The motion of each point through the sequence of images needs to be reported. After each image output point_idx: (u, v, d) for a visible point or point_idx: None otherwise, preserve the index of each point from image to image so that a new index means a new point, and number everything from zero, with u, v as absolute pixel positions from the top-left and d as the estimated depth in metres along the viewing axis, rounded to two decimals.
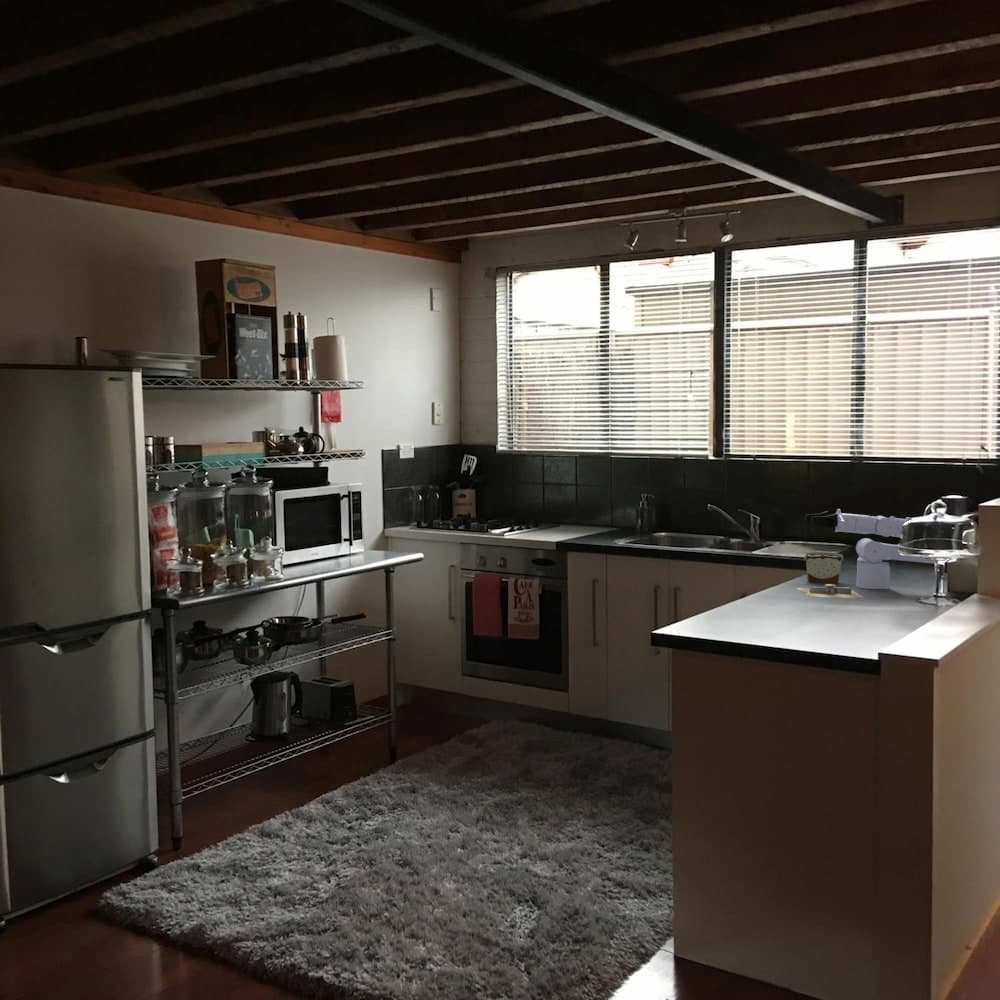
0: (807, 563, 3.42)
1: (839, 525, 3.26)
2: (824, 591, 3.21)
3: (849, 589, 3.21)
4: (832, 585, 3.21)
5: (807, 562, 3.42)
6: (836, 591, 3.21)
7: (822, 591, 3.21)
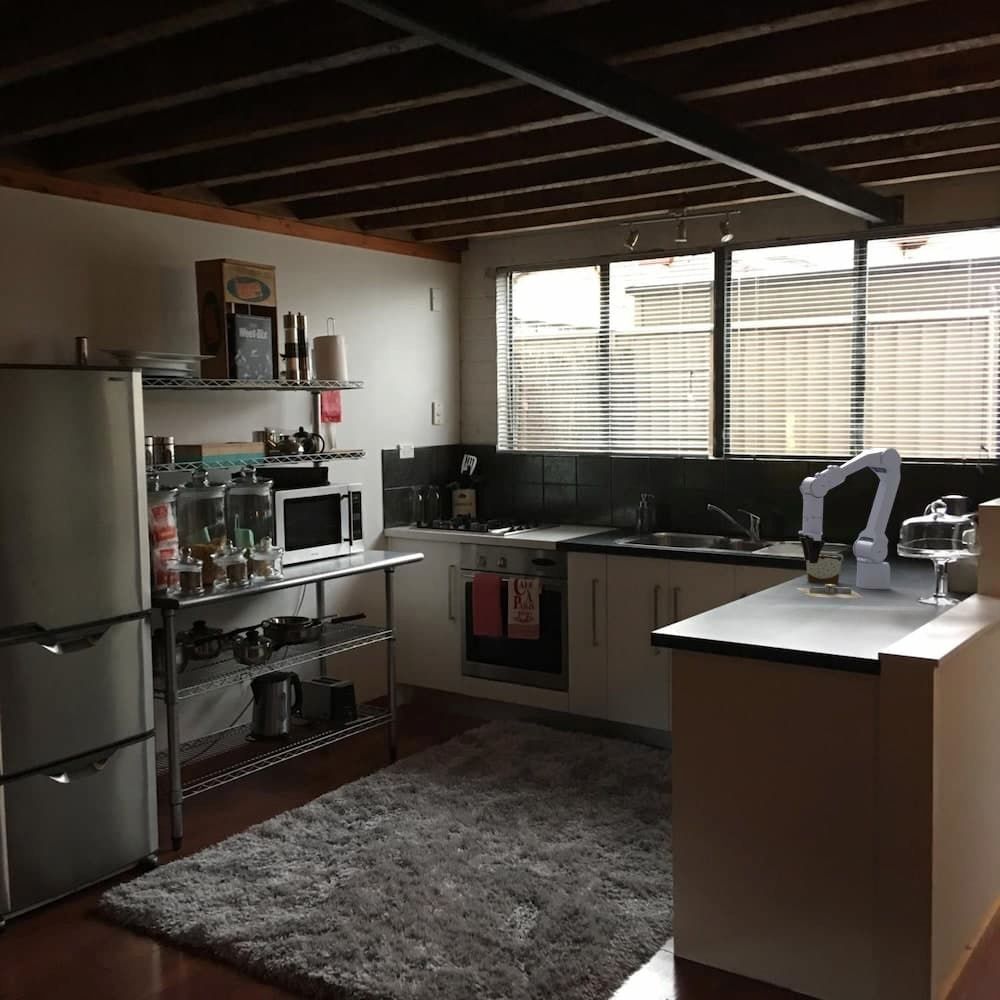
0: (807, 563, 3.42)
1: (819, 539, 3.20)
2: (824, 591, 3.21)
3: (849, 589, 3.21)
4: (832, 585, 3.21)
5: (807, 562, 3.42)
6: (836, 591, 3.21)
7: (822, 591, 3.21)
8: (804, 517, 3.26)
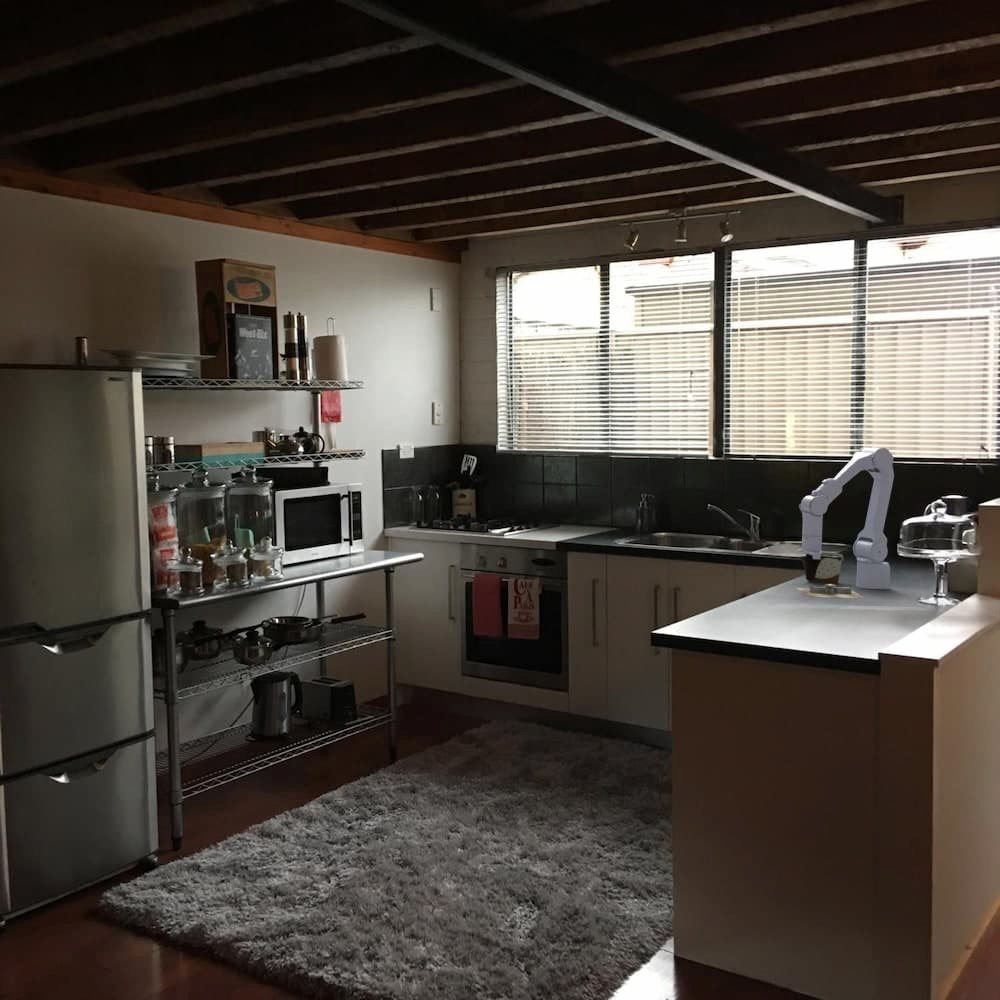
0: None
1: (818, 558, 3.20)
2: (824, 591, 3.21)
3: (849, 589, 3.21)
4: (832, 585, 3.21)
5: None
6: (836, 591, 3.21)
7: (822, 591, 3.21)
8: (803, 535, 3.26)
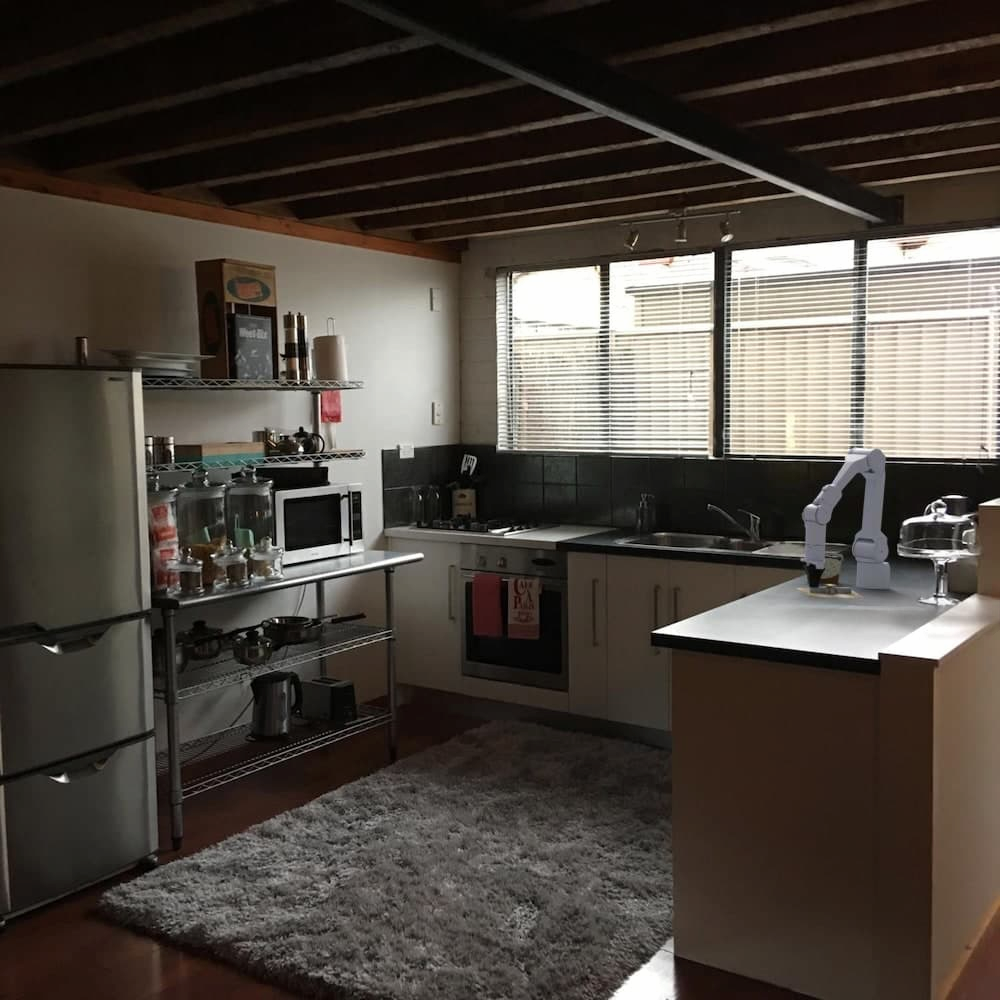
0: (807, 563, 3.42)
1: (821, 567, 3.16)
2: (824, 591, 3.21)
3: (849, 589, 3.21)
4: (832, 585, 3.21)
5: None
6: (836, 591, 3.21)
7: (822, 591, 3.21)
8: (806, 544, 3.22)
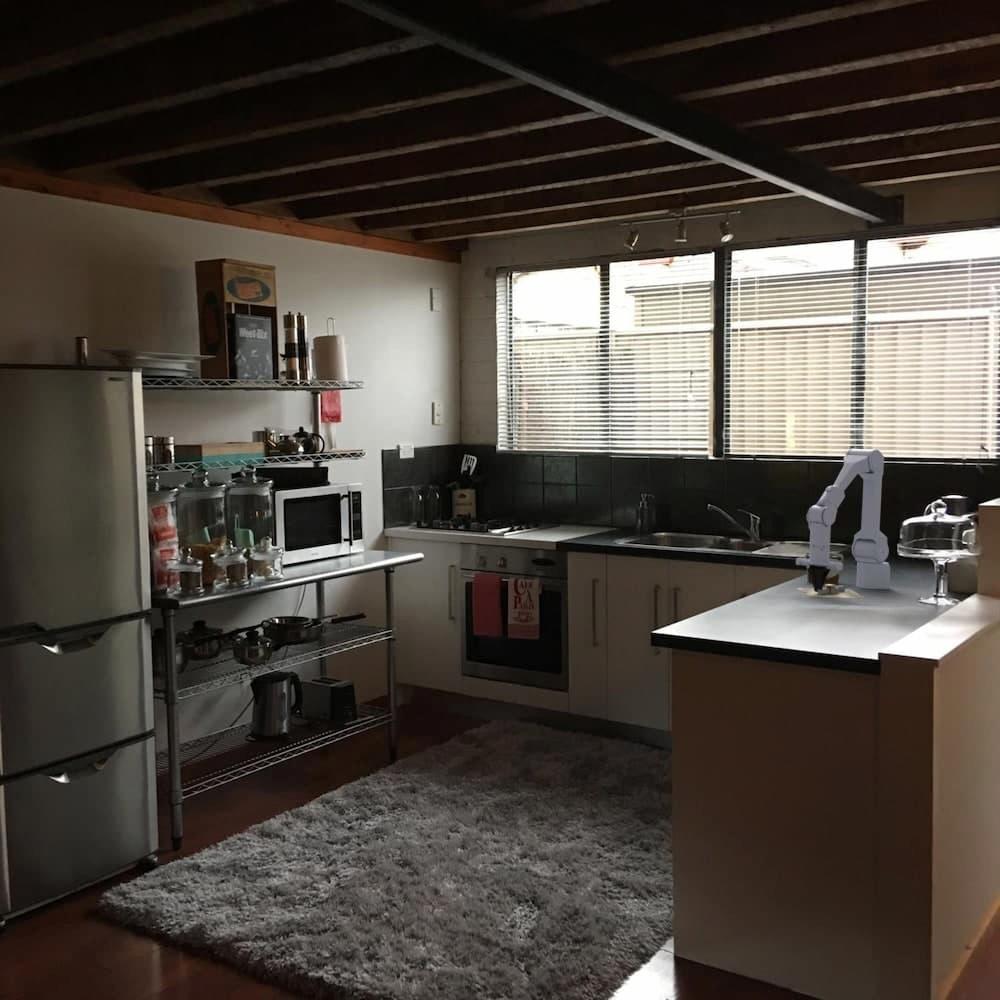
0: None
1: (841, 568, 3.15)
2: (830, 592, 3.20)
3: (844, 587, 3.25)
4: (832, 585, 3.21)
5: None
6: None
7: (829, 592, 3.20)
8: (817, 547, 3.17)
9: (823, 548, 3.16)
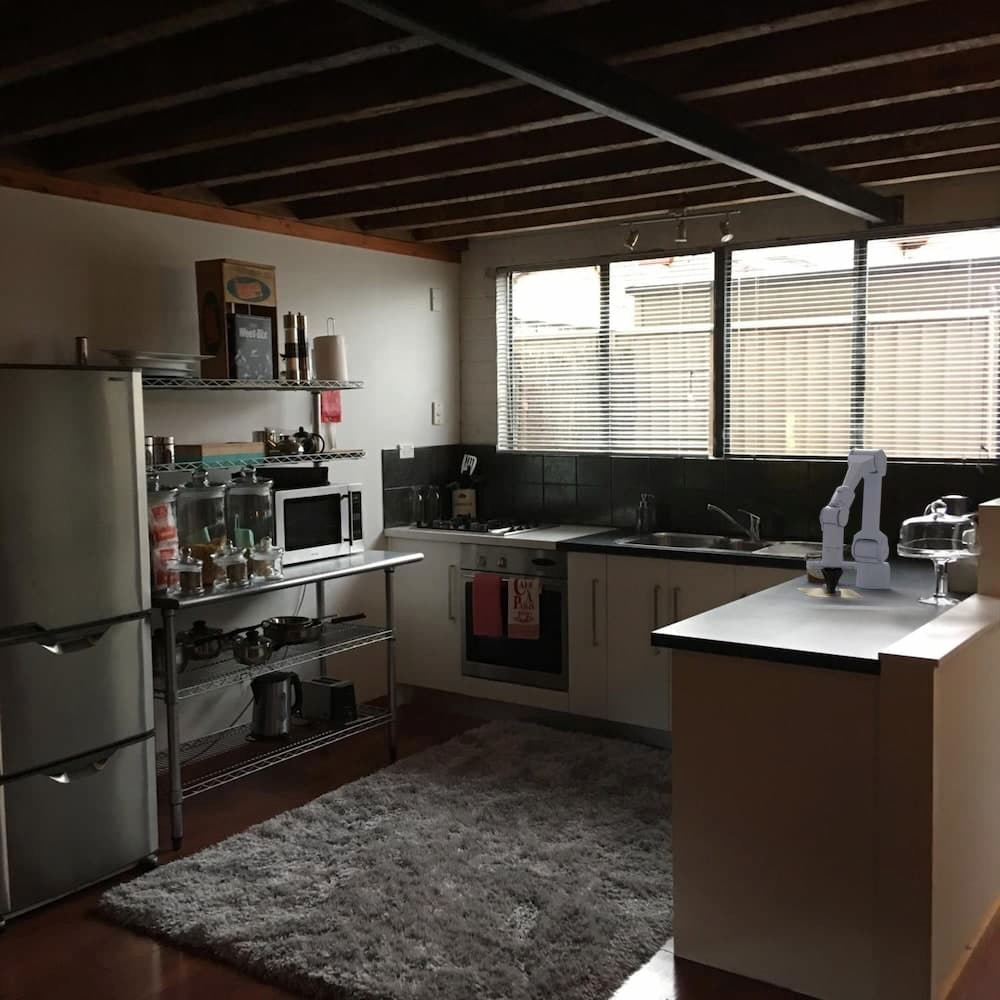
0: None
1: None
2: None
3: None
4: None
5: None
6: None
7: None
8: (838, 548, 3.14)
9: (842, 549, 3.15)
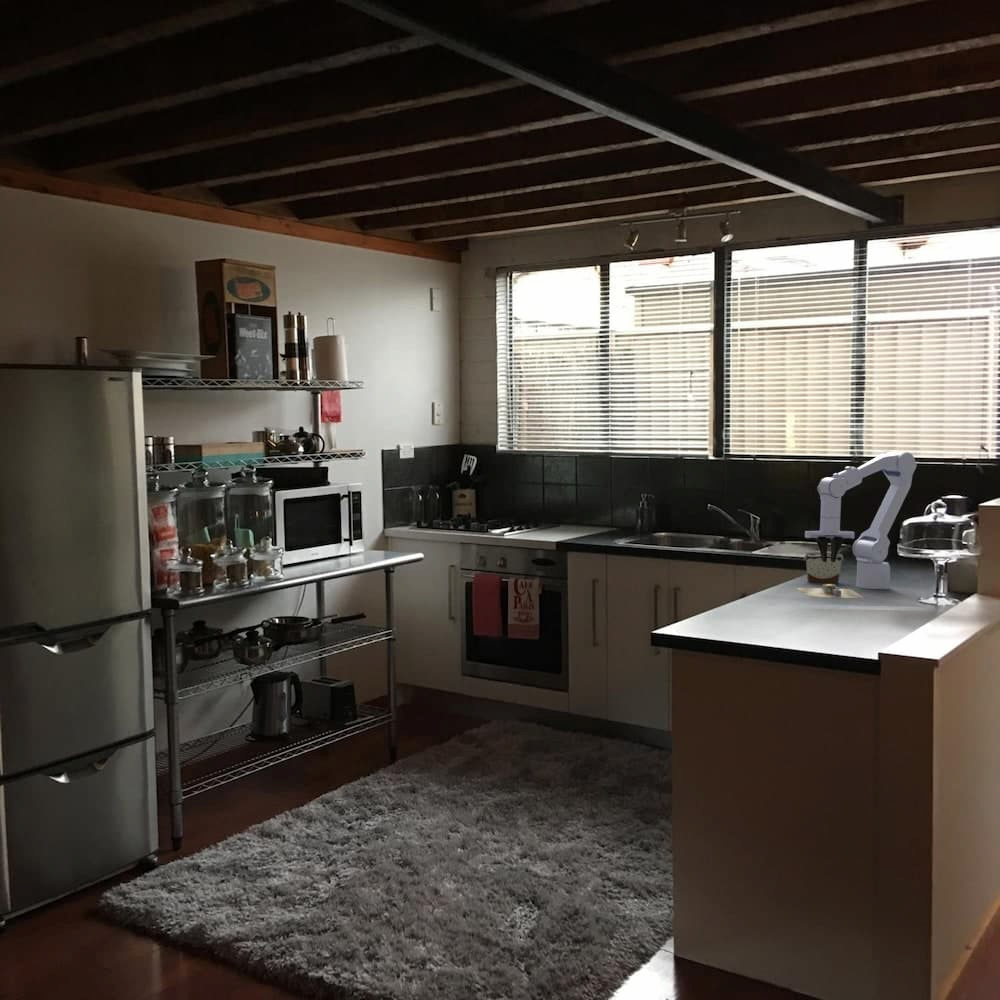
0: (807, 563, 3.42)
1: None
2: None
3: None
4: (832, 585, 3.21)
5: (807, 562, 3.42)
6: None
7: None
8: (836, 518, 3.25)
9: (839, 519, 3.26)
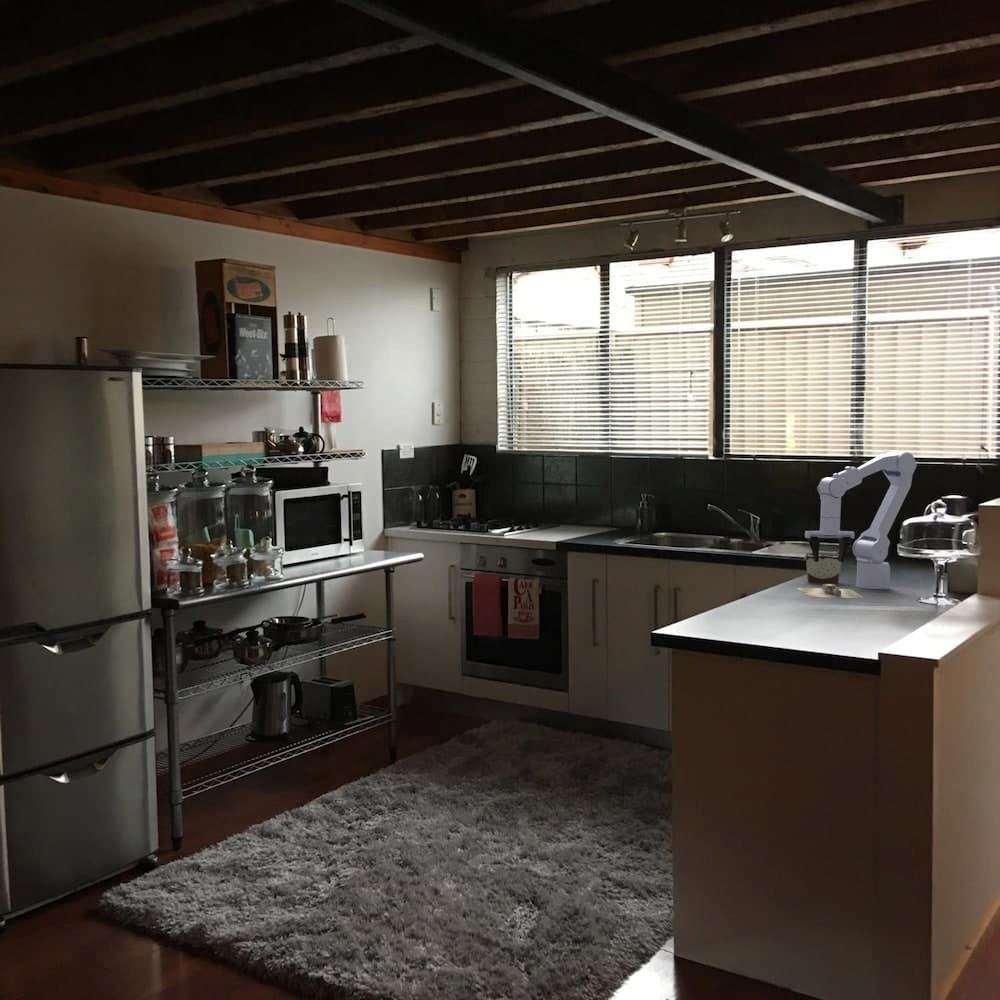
0: (807, 563, 3.42)
1: None
2: None
3: None
4: (832, 585, 3.21)
5: (807, 562, 3.42)
6: None
7: None
8: (836, 518, 3.25)
9: (839, 519, 3.26)
